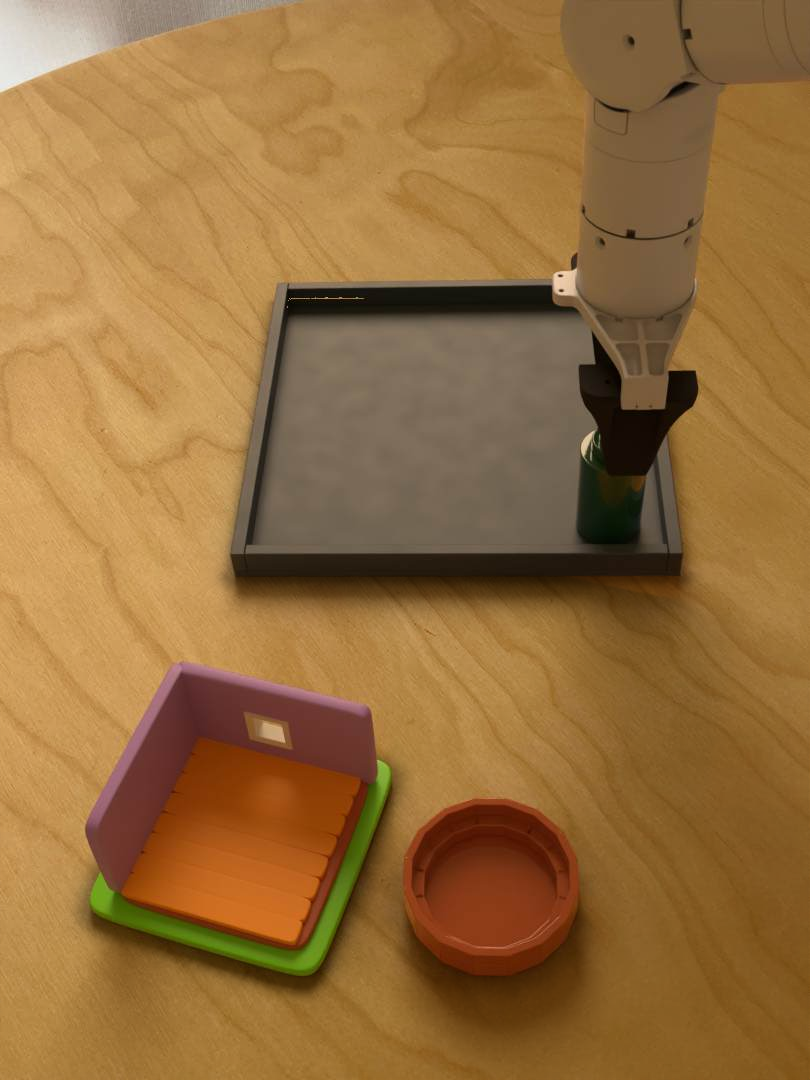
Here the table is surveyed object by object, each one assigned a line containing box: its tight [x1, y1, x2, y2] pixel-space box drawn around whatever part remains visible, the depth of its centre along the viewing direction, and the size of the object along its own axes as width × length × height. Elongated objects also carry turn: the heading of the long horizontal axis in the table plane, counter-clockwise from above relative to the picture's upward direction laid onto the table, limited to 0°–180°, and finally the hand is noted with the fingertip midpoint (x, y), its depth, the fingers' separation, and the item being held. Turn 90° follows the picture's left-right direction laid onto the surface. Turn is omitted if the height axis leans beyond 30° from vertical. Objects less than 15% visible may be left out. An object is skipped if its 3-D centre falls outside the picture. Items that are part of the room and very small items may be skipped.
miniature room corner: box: [84, 661, 393, 977], centre depth 63 cm, size 12×12×7 cm
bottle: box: [575, 428, 647, 544], centre depth 75 cm, size 4×4×9 cm
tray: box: [229, 278, 684, 577], centre depth 85 cm, size 26×26×2 cm
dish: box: [402, 797, 580, 976], centre depth 62 cm, size 8×8×2 cm
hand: (621, 421), depth 72 cm, fingers open, 7 cm apart
